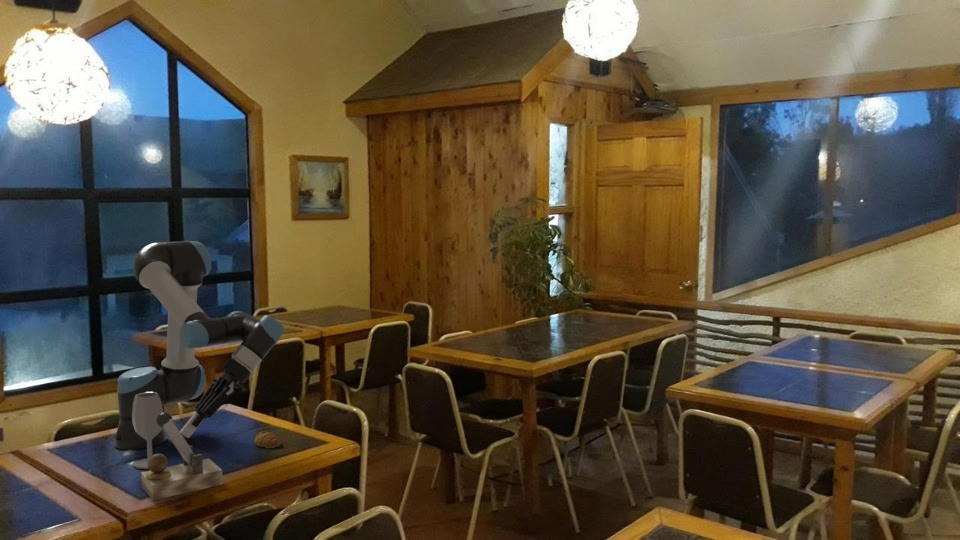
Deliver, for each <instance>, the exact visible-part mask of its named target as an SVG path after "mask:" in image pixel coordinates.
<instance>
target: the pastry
mask: <svg viewBox="0 0 960 540" xmlns="http://www.w3.org/2000/svg"><path fill="white" fill-rule="evenodd" d="M253 443H254V444H255V446H257V447H259V446H260V447H259V448H262V447H265V448H264V449H274V448H277V447H281V444H282V441H281V438H280V437H279V436H278V435H276V433H273V432H271V431H270V432H268V431H266V430H265V431H260V432H258V433H257V434H256V435H255V437H254V439H253Z"/></svg>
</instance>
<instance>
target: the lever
mask: <svg viewBox="0 0 960 540" xmlns="http://www.w3.org/2000/svg"><path fill="white" fill-rule="evenodd" d="M156 423H157V425H158V426H159V427H162V428H163V429H164V431H165V432H166V436H168V437H167V438H169V440H170V441H171V443H172V444H173V445H174V447H175V448H176V449H177V452H178V453H179V454H180V456H181V457H182V459H183V458H184V460H185V461H186V462H187V463H188V464H189V465H190V466H192V456H193V455H196V453H194V451H192V449H191V448H190V446H191V445H189V443H188V442H187V440H186V439H185V438H184V435H183V434H182V433H180V430H179V429H178V427H177V426H176V424H175V423H174V422H173V416H172V415H171V413H169V412H164V411H163V413H161V414H159V415H158V416H157V418H156Z"/></svg>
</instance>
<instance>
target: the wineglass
mask: <svg viewBox="0 0 960 540" xmlns="http://www.w3.org/2000/svg"><path fill="white" fill-rule="evenodd" d="M161 413H164V409H163V406H162V404H161V400H160V397H159V395H158V393H156V392H145V393H140V394H137V395H135V398H134V402H133V409H132V423H133V426H134V429H135V432H136V433H137V434H138V435H140V436H141V437H143V438H144V439H145V440H147V448H146V454H147V455H146V456H147V458H141V459H139V460H137V461H135V462H133V467H135V468H136V469H140V470H141V469H142V470H149V469H148V466H147V463H148V460H149V458H150V457H151V456H152V455H153V446H152V439H153V438H154V437H155V436H156V435H157V434H158V433H159V432H161V431H162V427H159V426H158V425H157V423H156V418H157V416H158V415H159V414H161Z"/></svg>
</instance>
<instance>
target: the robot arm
mask: <svg viewBox="0 0 960 540" xmlns="http://www.w3.org/2000/svg"><path fill="white" fill-rule="evenodd" d="M132 265H133V273H134V276H135V278H136V280H137V281H138V282H139V284H140V285H141V286H142V287H143V288H145V289H149V291H150V292H151V293H152V294H153V295H154V296H155V297H156V299H157V300H158V301H159V303H160V304H161V305H162V306H163V308H165V310H166V311H167V331H166V332H167V333H166V357H165V358H163V360H162V361H161V363H160V364H161V365H160V369H157V368H156V367H154V366H145V367H137V368H134V369H133V368H132V369H129V370H127V371H125V372H123V373H121V374H120V375H119V376H118V379H117V388H116V392H117V400H118V403H117V404H118V414H119V422H118V426H117V428H116V432H115V436H114V447H115V448H116V449H120V450H140V449H147V440H145V439H144V438H143V437H141V436H140V435H138V434H137V433H136V432H135V429H134V426H133V423H132V409H133V402H134V398H135V395H137V394H140V393H145V392H156V393H158V395H159V397H160V400H161V404H162V407H163V406H167V405H173V404H176V403H177V404H178V403H182V402H188V401H190V400H194V399H196V398H198V397H200V396H201V395H202V393H203V392H204V390H205V387H206V379H207V378H206V374H205V368H203V366H202V365H201V364H200V363H199V362H200V361H199V360H198V358H196V357H195V351H196V350H195V349H197V348H198V349H202V348H206V347H211V346H212V347H213V346H217V345H223V344H229V343H236V342H241V343H240V344H239V345H238V347H236V349H235V350H234V351H233V352H232V354H231V357H230V358H228V359H227V360H226V361H225V362H224V363H223V365H222V366H221V368H222V370H223V371H224V373H223V374H221V376H219V377H218V378H217V379H216V378H213V380H212V381H211V383H210V384H209V386H208V388H207V390H205V392H204V394H203V395H202V396H201V398H200V400H198V403H196V405H195V407H194V409H195V412H194V413H193V414H192V415H191V417H190V418H189V419H188V421H187V422H186V423H185V424H184V426H182V427H181V429H180V430H179V432H180V433H181V435H182V436H183V437H186V438H188V439H190V437H191V436H192V435H193V434H194V433H195V431H196V430H197V429H198V428H199V426H200V425H201V424H202V423H203V421H205V419H207V418H209V419H210V418H211V417H212V416H213V415H214V414H215V413H216V412H217V411H218V410H219V409H220V408H221V407H222V406H223V405H224V404H225V403H226V402H227V401H228V400H229V398H231V397H232V396H234V394H236V391H235V390H234V389H235V387H236V386H237V383H241V384H245V382H246V381H247V380H248V378H250V377H251V374H252V373H251V372H253V371H255V369H256V368H257V367H260V363H261V362H262V361H263V360H264V359H265V358H266V356H267V355H268V354H269V352H270V351H272V349H273V348H274V346H275V345H276V344H277V343H278V342H279V340H280V338H281V337H282V336H283V334H284V333H285V327H284V326H283V324H281V323H280V321H278V320H277V319H275V318H274V317H272V316H270V315H268V314H267V315H263V317H261V318H260V319H257V318H256V317H254V316H252V315H250V314H248V313H246V312H243V311H240V310H236V311H232V312H230V313H229V314H227V315H226V316H224V317H223V316H222V317H216V318H211V317H209V316H208V315H207V314H206V313H205V311H204V310H203V309H202V308H201V307H200V306H199V304H198V303H197V302H198V288H200V286H202V285H203V282H204V281H203V279H204V277H206V276H208V275H209V274H210V272H211V271H212V261H211V256H210V253H209V251H208V249H207V248H206V246H205V245H204V244H203V243H202V242H200V241H197V240H196V241H195V240H193V241H192V240H179V241H178V240H177V241H166V242H165V241H164V242H153V243H150V244H147V245H145V246H144V247H142V248H141V249H140V250H139V252H138V253H137V254H136V255H135V257H134V260H133V264H132ZM166 440H167V434H166V432H165V431H164V429H163V428H162V431H161V432H159V433H158V434H157V435H156V436H155V437H154V438H153V439H152V447H156V446H158V445H161V444H163V443H164V442H166Z"/></svg>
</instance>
